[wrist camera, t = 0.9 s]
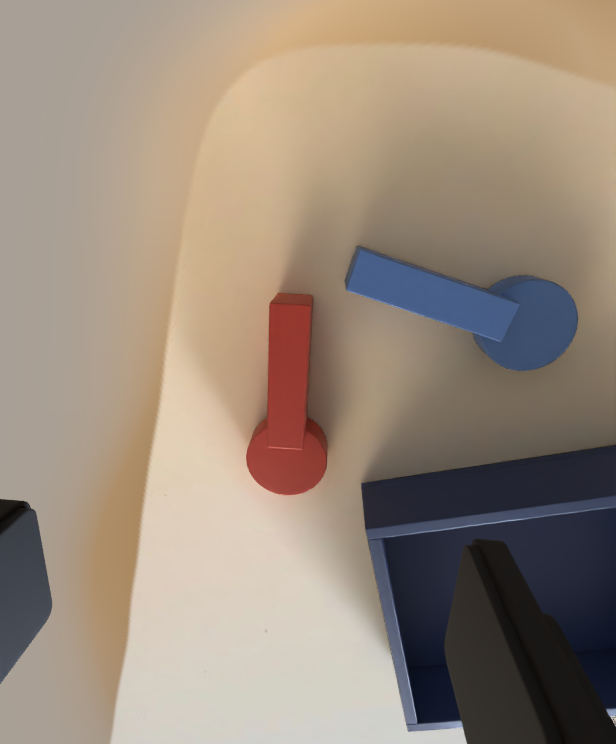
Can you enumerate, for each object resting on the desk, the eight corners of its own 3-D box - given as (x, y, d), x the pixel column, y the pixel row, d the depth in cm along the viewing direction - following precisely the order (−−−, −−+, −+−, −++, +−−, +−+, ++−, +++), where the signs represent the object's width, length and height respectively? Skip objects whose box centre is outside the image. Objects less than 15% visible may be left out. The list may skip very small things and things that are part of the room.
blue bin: (360, 483, 22) (365, 529, 19) (638, 441, 20) (697, 484, 17) (398, 667, 26) (407, 732, 23) (632, 645, 25) (678, 711, 21)
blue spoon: (336, 305, 19) (335, 317, 17) (366, 218, 18) (370, 218, 16) (535, 371, 20) (561, 391, 17) (578, 291, 18) (612, 302, 16)
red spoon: (252, 291, 19) (241, 301, 17) (338, 296, 19) (338, 306, 17) (251, 476, 22) (241, 505, 20) (325, 482, 22) (323, 511, 20)
